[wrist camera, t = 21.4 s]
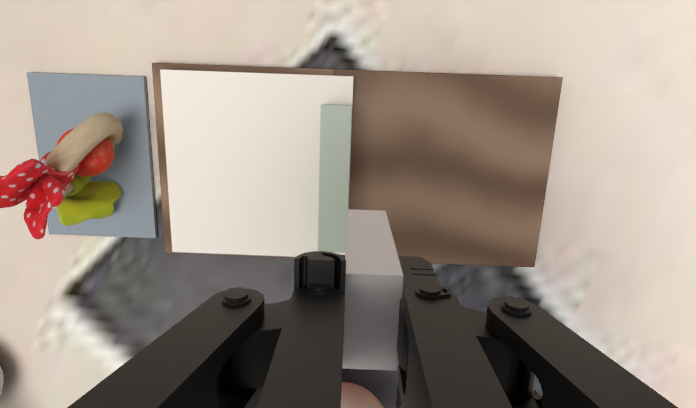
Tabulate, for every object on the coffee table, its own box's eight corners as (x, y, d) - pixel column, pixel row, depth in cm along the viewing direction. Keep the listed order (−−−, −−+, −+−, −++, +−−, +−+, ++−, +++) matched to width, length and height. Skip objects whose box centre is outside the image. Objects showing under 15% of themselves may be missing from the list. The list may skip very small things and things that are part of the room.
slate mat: (157, 236, 37) (155, 238, 36) (52, 232, 37) (49, 234, 36) (145, 76, 33) (143, 76, 33) (30, 72, 34) (26, 72, 33)
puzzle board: (529, 262, 36) (534, 267, 35) (170, 248, 37) (165, 252, 36) (556, 78, 33) (562, 77, 32) (157, 63, 33) (151, 62, 32)
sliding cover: (347, 255, 35) (345, 279, 31) (176, 248, 35) (148, 271, 31) (353, 76, 32) (353, 73, 27) (164, 70, 32) (132, 65, 27)
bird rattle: (96, 110, 36) (21, 199, 34) (29, 52, 25) (-86, 178, 23) (162, 153, 37) (92, 243, 35) (125, 115, 26) (21, 243, 24)
